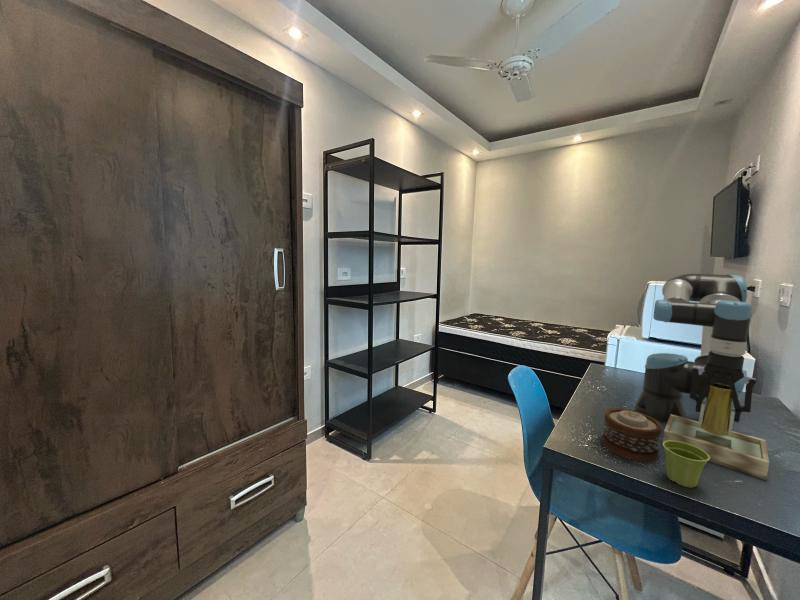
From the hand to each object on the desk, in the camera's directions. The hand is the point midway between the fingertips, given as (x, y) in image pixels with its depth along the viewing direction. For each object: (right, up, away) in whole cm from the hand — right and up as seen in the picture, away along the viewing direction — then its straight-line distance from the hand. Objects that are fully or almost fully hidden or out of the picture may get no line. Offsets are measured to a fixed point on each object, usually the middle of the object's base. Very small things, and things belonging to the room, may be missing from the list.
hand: (714, 426), depth 100 cm
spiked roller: (-25, -8, +2) cm, 26 cm away
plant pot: (-22, -10, -13) cm, 27 cm away
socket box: (0, -8, +1) cm, 8 cm away
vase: (0, -2, 0) cm, 2 cm away
